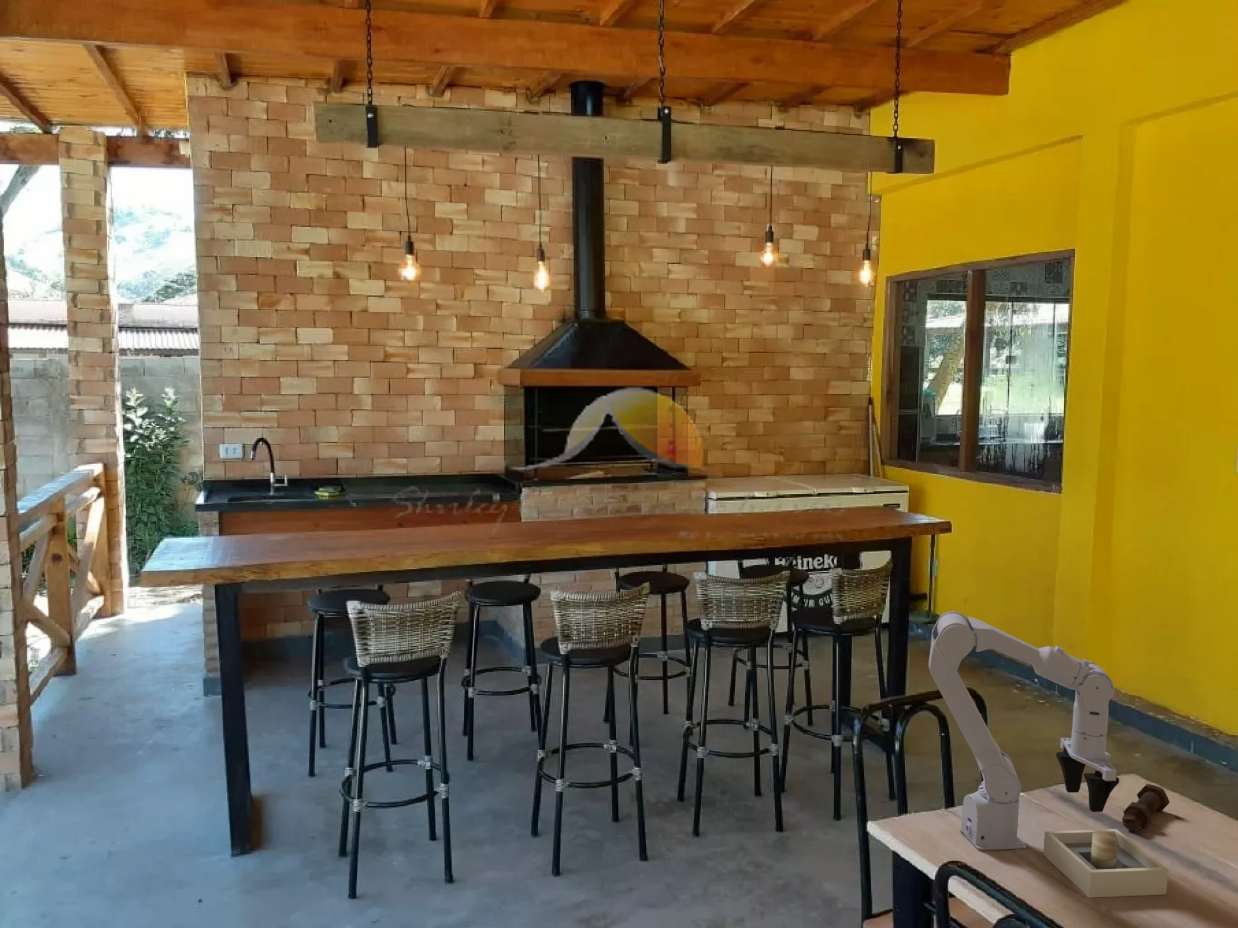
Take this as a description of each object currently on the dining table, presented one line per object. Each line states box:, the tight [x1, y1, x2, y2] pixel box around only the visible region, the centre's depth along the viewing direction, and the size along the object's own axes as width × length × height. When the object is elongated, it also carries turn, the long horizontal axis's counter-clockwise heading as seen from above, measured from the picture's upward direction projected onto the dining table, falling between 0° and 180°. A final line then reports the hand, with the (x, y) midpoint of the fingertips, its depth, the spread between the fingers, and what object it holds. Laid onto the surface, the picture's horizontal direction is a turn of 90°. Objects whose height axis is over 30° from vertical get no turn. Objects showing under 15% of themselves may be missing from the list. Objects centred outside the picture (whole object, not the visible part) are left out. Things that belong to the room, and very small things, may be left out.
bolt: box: [1121, 783, 1170, 832], centre depth 184 cm, size 6×5×15 cm
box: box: [1042, 828, 1169, 899], centre depth 163 cm, size 14×14×4 cm
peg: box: [1091, 831, 1118, 870], centre depth 163 cm, size 4×4×7 cm
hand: (1084, 801), depth 170 cm, fingers open, 7 cm apart
